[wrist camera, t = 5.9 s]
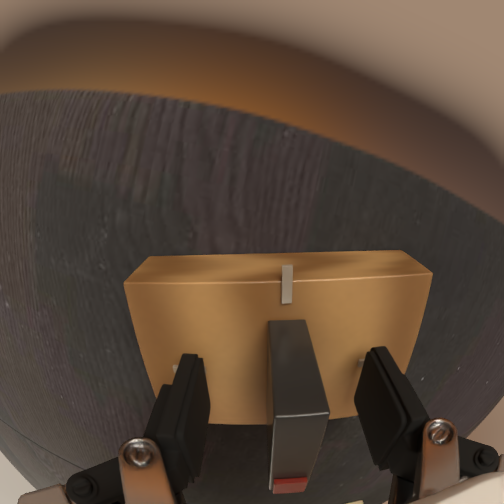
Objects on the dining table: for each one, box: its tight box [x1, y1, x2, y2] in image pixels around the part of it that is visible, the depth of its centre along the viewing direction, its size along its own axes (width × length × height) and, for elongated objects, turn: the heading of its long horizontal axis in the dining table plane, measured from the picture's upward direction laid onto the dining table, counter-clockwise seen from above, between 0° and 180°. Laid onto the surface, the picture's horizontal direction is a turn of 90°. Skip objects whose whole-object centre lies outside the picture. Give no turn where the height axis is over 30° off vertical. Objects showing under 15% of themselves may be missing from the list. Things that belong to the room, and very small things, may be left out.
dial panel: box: [124, 250, 433, 424], centre depth 12 cm, size 12×9×3 cm
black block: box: [266, 319, 331, 494], centre depth 9 cm, size 5×1×5 cm, turn 1°
